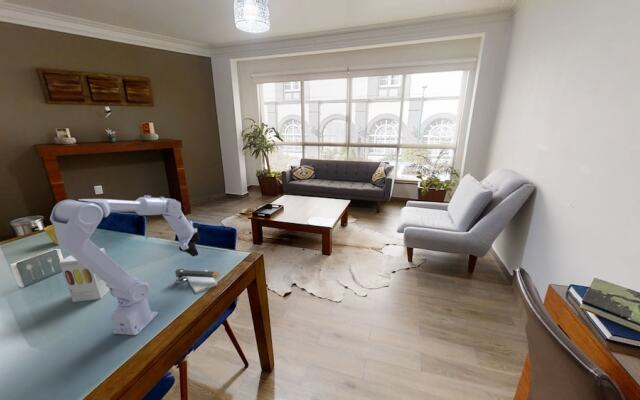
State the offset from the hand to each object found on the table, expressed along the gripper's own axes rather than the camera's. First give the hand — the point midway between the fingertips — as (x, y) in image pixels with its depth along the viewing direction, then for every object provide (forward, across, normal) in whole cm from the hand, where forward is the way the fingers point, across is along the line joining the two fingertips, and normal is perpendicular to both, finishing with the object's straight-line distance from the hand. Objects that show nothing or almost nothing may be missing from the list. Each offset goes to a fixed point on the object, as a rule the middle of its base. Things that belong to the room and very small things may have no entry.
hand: (196, 248), depth 102 cm
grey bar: (+8, -7, +3) cm, 11 cm away
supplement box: (+4, -3, +40) cm, 41 cm away
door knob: (+10, -5, +10) cm, 15 cm away
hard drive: (+12, -9, +2) cm, 15 cm away
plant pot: (+12, +54, +86) cm, 102 cm away
